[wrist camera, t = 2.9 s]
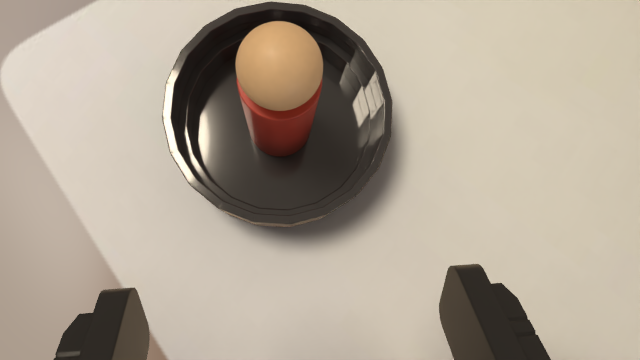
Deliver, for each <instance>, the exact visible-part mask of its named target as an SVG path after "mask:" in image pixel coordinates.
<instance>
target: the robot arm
mask: <svg viewBox="0 0 640 360" xmlns="http://www.w3.org/2000/svg"><path fill="white" fill-rule="evenodd" d="M439 313H440V320H441V324H442V327H443V330H444V333H445V335H446V338H447V341H448V344H449V346H450V349H451V352H452V355H453V357H454V360H551V359H550V357H549V356H548V354H547V352H546V350H545V348H544V346H543V344H542V343H541V341H540V339H539V337H538V335H536V334H535V330H534V328H533V326H532V324H531V322H530V320H528V319H527V315H526V313H525V311H524V309H523V308H522V306H521V304H520V302H519V300H518V298H517V297H516V296H515V295H513V294H512V293H511V292H510V291H509V290H508V289H507V288H506V287H505V286H504V285H503V284H502V283H495V284H491V283H490V281H489V279H488V277H487V275H486V273H485V271H484V269H483V268H482V267H481V266H480V265H479V264H471V265H457V266H450V267H449V268H448V271H447V275H446V279H445V283H444V287H443V291H442V295H441V299H440V303H439ZM148 348H149V326H148V322H147V319H146V316H145V313H144V310H143V307H142V304H141V301H140V298H139V295H138V292H137V290H136V289H135V288H123V289H109V290H103V291H101V293H100V294H99V297H98V300H97V303H96V306H95V309H94V312H93V313H86V314H79V315H78V316H77V318H76V319H75V320H74V321H73V322H72V323H71V325H70V326H69V327H68V328H67V330H66V331H65V332H64V333H63V336H62V338H61V341H60V344H59V346H58V349H57V352H56V358H54V360H146V359H147V354H148Z"/></svg>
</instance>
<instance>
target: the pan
mask: <svg viewBox="0 0 640 360" xmlns="http://www.w3.org/2000/svg"><path fill="white" fill-rule="evenodd" d="M273 21H284V22H289V23H293V24H295V25H297V26H300V27H301V28H303V29H304V30H306V31H307V32H308V33H309V34H310V35H311V36H312V37H313V39H314V40H315V41H316V43H317V45H318V46H319V49H320V51H321V54H322V59H323V75H322V88H321V93H320V96H319V100H318V104H317V108H316V112H315V116H314V119H313V123H312V127H311V131H310V135H309V138H308V140H307V142H306V143H305V145H304V146H303V147H302V148H301V149H300V150H299V151H297V152H295V153H293V154H291V155H288V156H281V157H279V156H272V155H269V154H267V153H265V152H263V151H261V150H260V149H259V148H258V147H257V146H256V145H255V143H254V142H253V140H252V138H251V135H250V132H249V128H248V125H247V121H246V117H245V114H244V110H243V106H242V103H241V99H240V95H239V91H238V87H237V74H236V56H237V52H238V49H239V46H240V45H241V43H242V41H243V40H244V38H245V37H246V36H247V35H248V34H249V33H250V32H251V31H252V30H253V29H254V28H256V27H258V26H260V25H262V24H264V23H268V22H273ZM162 118H163V119H162V120H163V124H164V128H165V133H166V137H167V142H168V146H169V150H170V153H171V156H172V157H173V159H174V160H175V162H176V164H177V165H178V167H179V168H180V170H181V172H182V173H183V175H184V177H185V178H186V180H187V181H188V183H189V184H190V186H192V187H193V188H194V189H195V190H197V191H198V192H199V193H200V194H201V195H203V196H204V197H205V198H206V199H207V200H209V201H210V202H211V203H212V204H213V205H215V206H216V207H217V208H218V209H220V210H222V211H223V212H225V213H227V214H229V215H232V216H234V217H237V218H239V219H242V220H244V221H247V222H249V223H252V224H254V225H260V226H276V227H292V226H296V225H300V224H304V223H308V222H311V221H315V220H319V219H321V218H323V217H325V216H326V215H328V214H329V213H331V212H332V211H334V210H335V209H337V208H339V207H340V206H342V205H343V204H345V203H346V202H348V201H349V200H351V199H352V198H354V197H355V196H356V195H358V193H359V192H360V191H361V190H362V188H363V187H364V186H365V185H366V184H367V182H368V181H369V180H370V179H371V177H372V176H373V175H374V174H375V172H376V171H377V170H378V168H379V167H380V164H381V161H382V159H383V156H384V153H385V151H386V148H387V145H388V142H389V140H390V137H391V123H392V99H391V95H390V92H389V88H388V85H387V81H386V78H385V74H384V71H383V69H382V66H381V65H380V63H379V62H378V60H377V59H376V57H375V56H374V54H373V53H372V51H371V50H370V48H369V47H368V45H367V44H366V42H365V41H364V40H363V39H362V38H361V37H360V36H358V35H357V34H356V33H355V32H354V31H352V30H351V29H350V28H349V27H347V26H346V25H345V24H344V23H342V22H341V21H340V20H339V19H337V18H336V17H333V16H331V15H328V14H326V13H323V12H321V11H318V10H316V9H314V8H311V7H309V6H306V5H300V4H290V3H279V2H266V3H261V4H256V5H251V6H246V7H241V8H236V9H234V10H232V11H230V12H229V13H227V14H225V15H223V16H221V17H219V18H218V19H216V20H214V21H212V22H210V23H209V24H207V25H205V26H204V27H203V28H202V29H201V30H200V31H199V32H198V33H197V34H196V36H195V37H194V38H193V39H192V40H191V41H190V42H189V43H188V44H187V45H186V46H185V47H184V48H183V49H182V50H181V52H180V54H179V56H178V58H177V60H176V63H175V65H174V67H173V69H172V71H171V73H170V75H169V78H168V80H167V82H166V87H165V96H164V106H163V115H162Z"/></svg>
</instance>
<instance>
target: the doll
mask: <svg viewBox="0 0 640 360" xmlns="http://www.w3.org/2000/svg"><path fill="white" fill-rule="evenodd" d="M236 74H237V87H238V91H239V95H240V99H241V103H242V106H243V110H244V114H245V117H246V121H247V125H248V128H249V132H250V135H251V138H252V140H253V142H254V143H255V145H256V146H257V147H258V148H259V149H260V150H261V151H263V152H265V153H267V154H269V155H272V156H279V157H281V156H288V155H291V154H293V153H295V152H297V151H299V150H300V149H301V148H302V147H303V146H304V145H305V143H306V142H307V140H308V138H309V135H310V131H311V127H312V123H313V119H314V116H315V112H316V108H317V104H318V100H319V96H320V93H321V88H322V75H323V59H322V54H321V51H320V49H319V46H318V45H317V43H316V41H315V40H314V39H313V37H312V36H311V35H310V34H309V33H308V32H307V31H306V30H304V29H303V28H301V27H300V26H297V25H295V24H293V23H289V22H284V21H273V22H268V23H264V24H262V25H260V26H258V27H256V28H254V29H253V30H252V31H251V32H250V33H249V34H248V35H247V36H246V37H245V38H244V40H243V41H242V43H241V45H240V46H239V49H238V52H237V56H236Z"/></svg>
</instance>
